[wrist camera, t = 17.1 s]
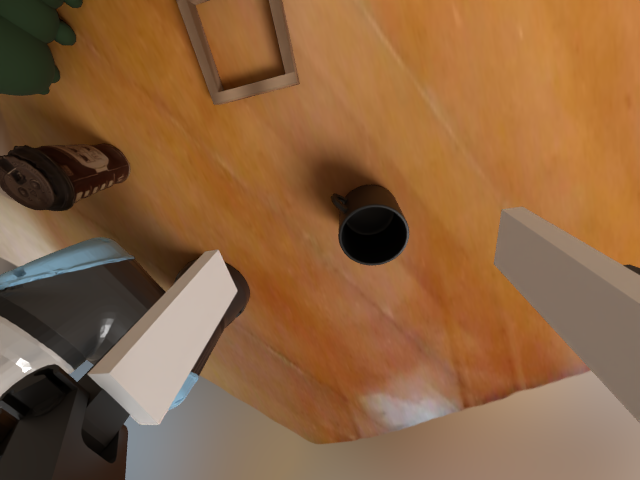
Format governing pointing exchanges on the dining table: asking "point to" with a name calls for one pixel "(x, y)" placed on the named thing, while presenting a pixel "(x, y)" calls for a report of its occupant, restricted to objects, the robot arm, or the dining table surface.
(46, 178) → the coffee cup
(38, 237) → the dining table surface
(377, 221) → the mug
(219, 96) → the frame
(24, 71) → the toy figurine
